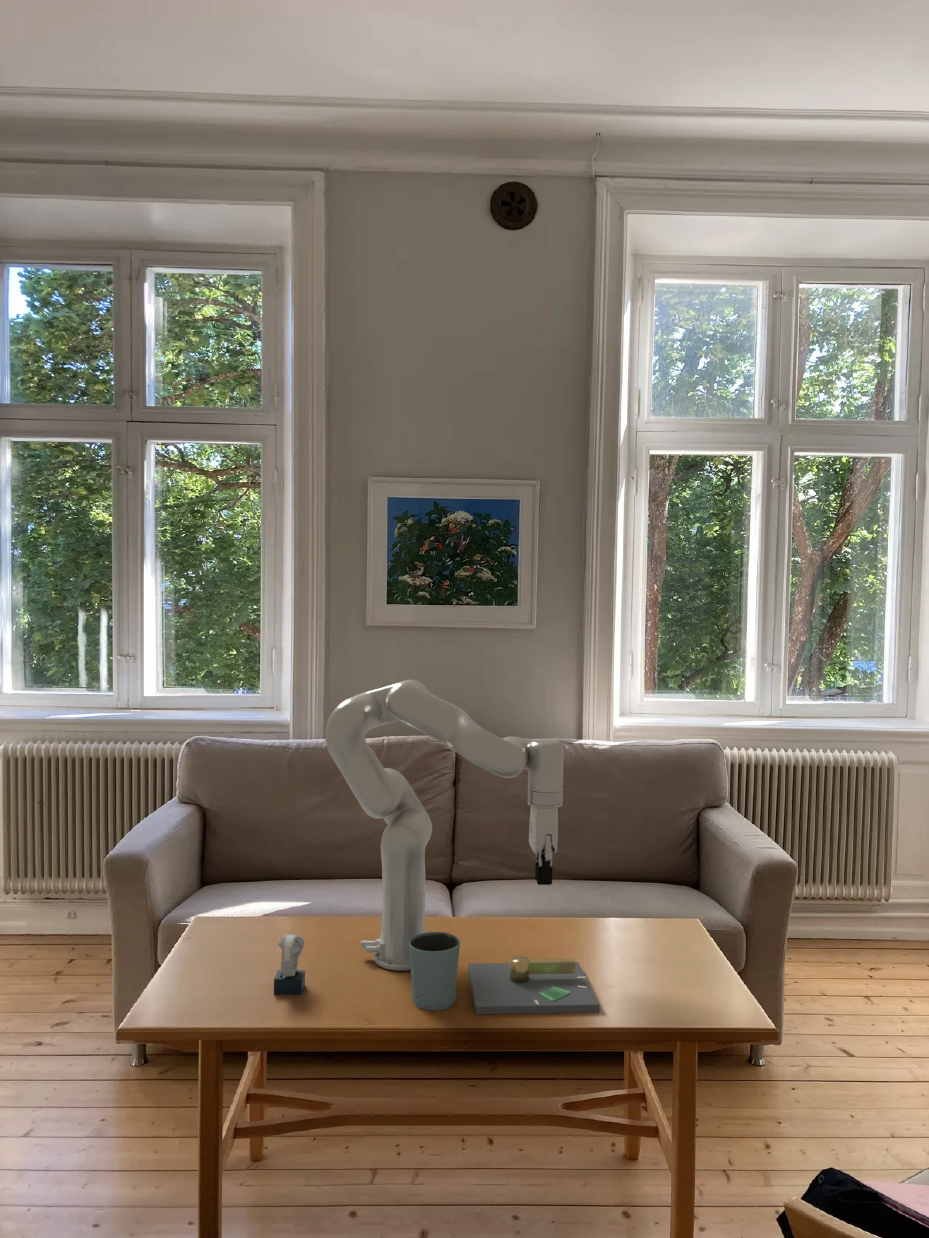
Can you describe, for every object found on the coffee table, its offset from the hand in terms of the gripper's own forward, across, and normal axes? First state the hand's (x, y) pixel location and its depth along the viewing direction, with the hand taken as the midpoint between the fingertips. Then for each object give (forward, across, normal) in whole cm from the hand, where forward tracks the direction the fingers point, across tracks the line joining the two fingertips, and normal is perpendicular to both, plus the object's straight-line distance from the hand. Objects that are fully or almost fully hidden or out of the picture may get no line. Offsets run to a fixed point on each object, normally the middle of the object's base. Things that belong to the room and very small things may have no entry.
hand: (543, 881), depth 190 cm
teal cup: (+19, +14, -24) cm, 34 cm away
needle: (+17, +8, -1) cm, 19 cm away
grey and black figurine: (+19, +8, -53) cm, 57 cm away
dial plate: (+19, +10, -4) cm, 22 cm away
